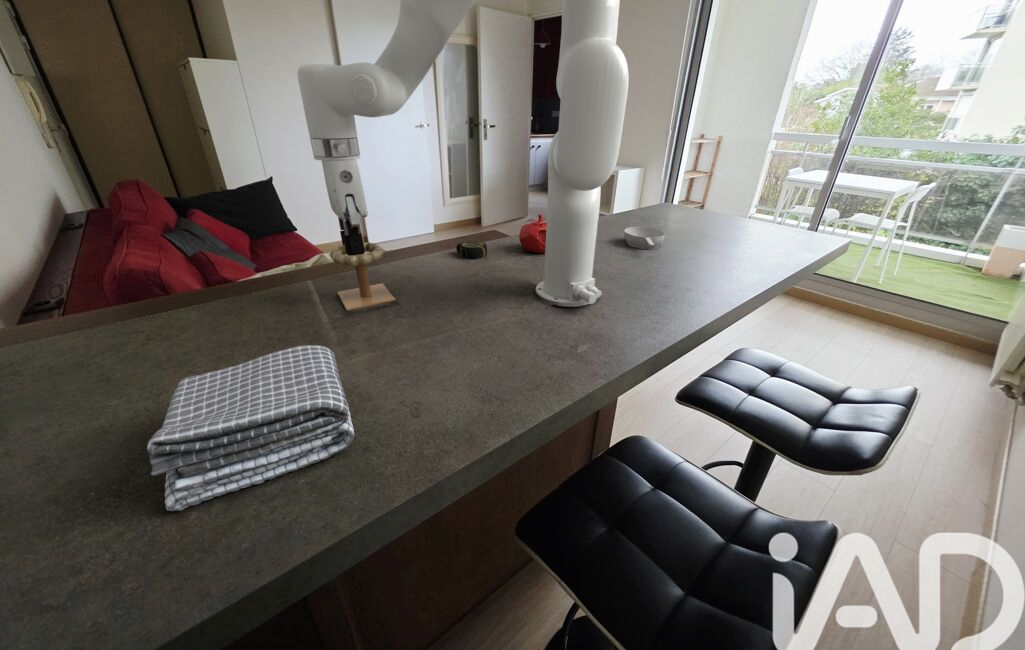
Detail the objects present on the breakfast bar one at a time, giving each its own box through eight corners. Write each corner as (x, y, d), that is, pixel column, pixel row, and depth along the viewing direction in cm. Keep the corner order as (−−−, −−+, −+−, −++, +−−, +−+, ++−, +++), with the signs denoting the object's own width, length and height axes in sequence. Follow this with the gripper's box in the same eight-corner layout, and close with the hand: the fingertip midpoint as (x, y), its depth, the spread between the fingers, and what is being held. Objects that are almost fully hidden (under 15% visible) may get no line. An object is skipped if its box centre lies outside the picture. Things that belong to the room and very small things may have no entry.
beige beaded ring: (390, 261, 76) (389, 252, 75) (337, 270, 72) (335, 260, 71) (376, 247, 83) (375, 238, 82) (327, 254, 78) (325, 245, 77)
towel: (361, 451, 46) (349, 395, 43) (159, 520, 39) (121, 459, 35) (340, 380, 58) (329, 331, 54) (181, 421, 50) (155, 368, 47)
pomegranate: (511, 251, 109) (512, 215, 104) (532, 241, 116) (533, 208, 112) (544, 258, 104) (545, 221, 99) (563, 248, 111) (565, 213, 107)
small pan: (659, 239, 119) (661, 226, 117) (671, 260, 103) (674, 245, 102) (621, 237, 120) (622, 224, 118) (627, 258, 105) (629, 243, 103)
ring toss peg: (396, 304, 80) (389, 259, 75) (347, 315, 76) (338, 267, 71) (383, 288, 87) (376, 245, 82) (338, 297, 82) (328, 252, 78)
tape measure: (481, 252, 108) (481, 238, 106) (491, 260, 102) (491, 246, 100) (456, 255, 105) (455, 241, 103) (464, 264, 100) (464, 249, 98)
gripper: (370, 153, 67) (385, 261, 75) (348, 144, 79) (364, 239, 87) (320, 155, 63) (342, 268, 72) (306, 145, 75) (326, 244, 84)
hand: (354, 251), depth 80 cm, fingers closed on beige beaded ring, 2 cm apart
